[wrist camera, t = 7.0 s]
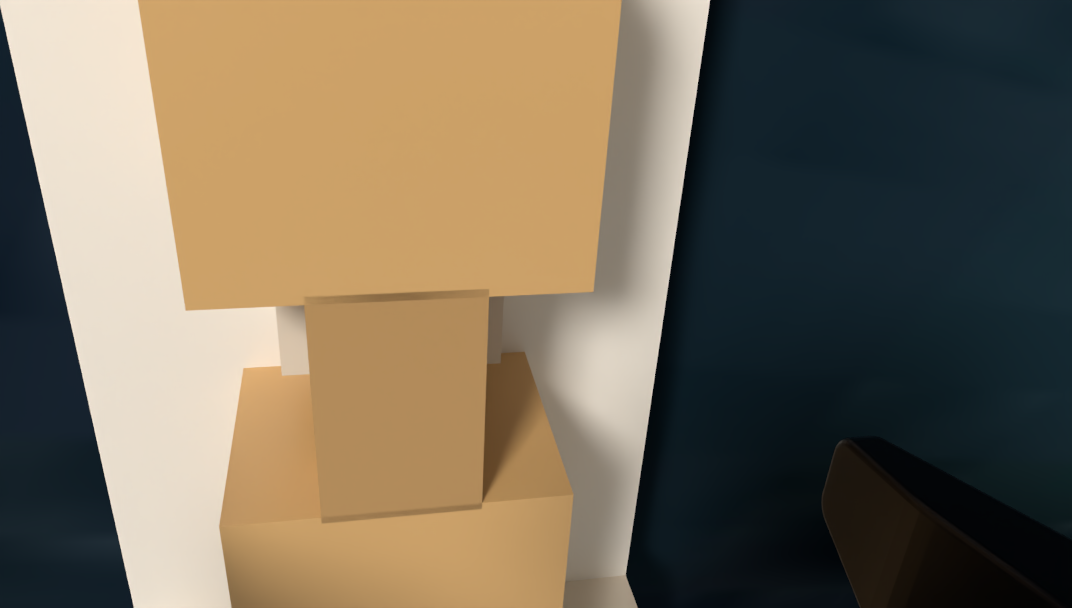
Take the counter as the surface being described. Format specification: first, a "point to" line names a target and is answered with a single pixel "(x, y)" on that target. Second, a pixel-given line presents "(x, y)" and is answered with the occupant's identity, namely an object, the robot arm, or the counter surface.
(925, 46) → the counter surface
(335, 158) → the tan square dumbbell
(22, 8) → the display stand
